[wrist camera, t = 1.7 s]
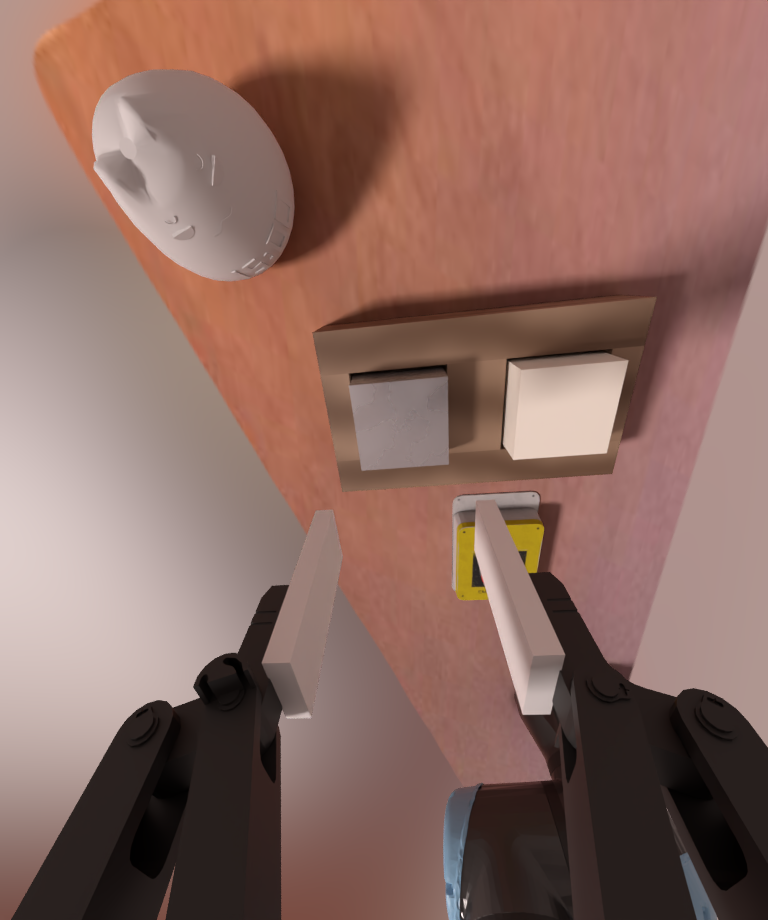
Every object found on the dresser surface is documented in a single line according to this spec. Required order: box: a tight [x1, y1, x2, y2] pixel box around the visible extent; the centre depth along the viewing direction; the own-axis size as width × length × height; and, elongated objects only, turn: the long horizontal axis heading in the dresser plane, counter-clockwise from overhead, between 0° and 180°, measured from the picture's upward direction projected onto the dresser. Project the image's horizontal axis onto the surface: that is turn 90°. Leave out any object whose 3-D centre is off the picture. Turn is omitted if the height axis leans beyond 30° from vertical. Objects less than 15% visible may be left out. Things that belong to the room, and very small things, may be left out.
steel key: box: [349, 366, 449, 471], centre depth 27 cm, size 7×7×3 cm
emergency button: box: [452, 491, 544, 600], centre depth 38 cm, size 9×4×15 cm
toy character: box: [92, 70, 295, 281], centre depth 19 cm, size 10×10×12 cm
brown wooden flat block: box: [313, 295, 657, 492], centre depth 29 cm, size 14×24×4 cm, turn 96°
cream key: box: [501, 351, 629, 460], centre depth 26 cm, size 7×7×3 cm
